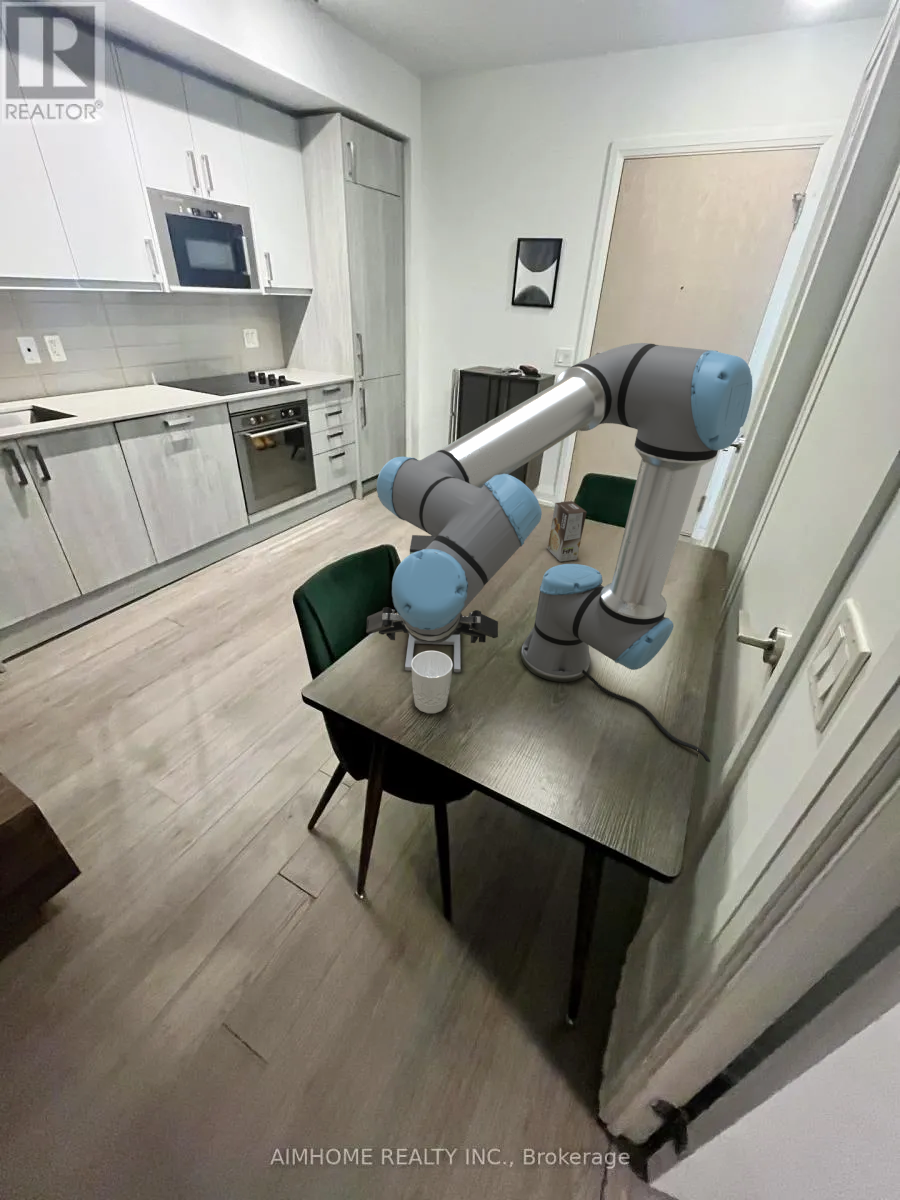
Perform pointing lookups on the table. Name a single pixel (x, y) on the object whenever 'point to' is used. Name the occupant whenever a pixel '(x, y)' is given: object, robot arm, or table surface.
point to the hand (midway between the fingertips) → (433, 633)
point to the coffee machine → (416, 545)
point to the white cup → (431, 680)
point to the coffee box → (566, 530)
